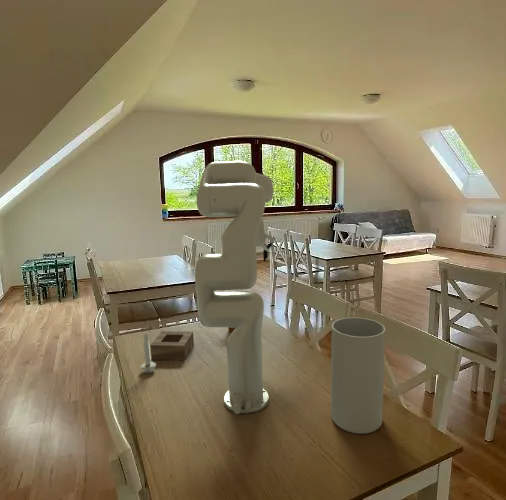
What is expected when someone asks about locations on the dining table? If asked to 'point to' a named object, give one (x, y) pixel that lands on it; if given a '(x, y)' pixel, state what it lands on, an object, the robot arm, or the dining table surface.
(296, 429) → the dining table surface
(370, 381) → the cylinder vase
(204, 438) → the dining table surface
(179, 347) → the socket block
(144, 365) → the screw
